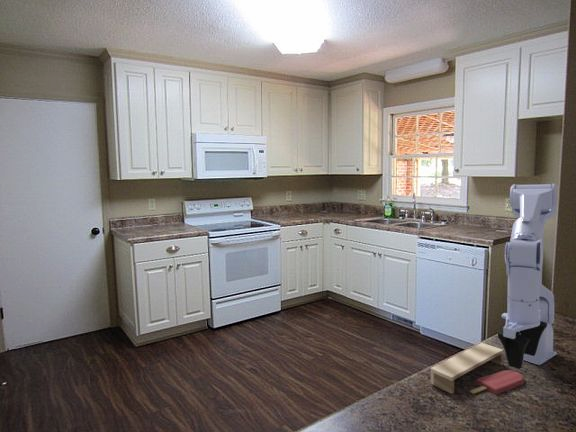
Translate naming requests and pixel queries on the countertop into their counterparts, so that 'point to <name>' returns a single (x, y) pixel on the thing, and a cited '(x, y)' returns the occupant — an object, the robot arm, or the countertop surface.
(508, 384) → the popsicle
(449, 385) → the rail
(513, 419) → the countertop surface
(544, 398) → the countertop surface
